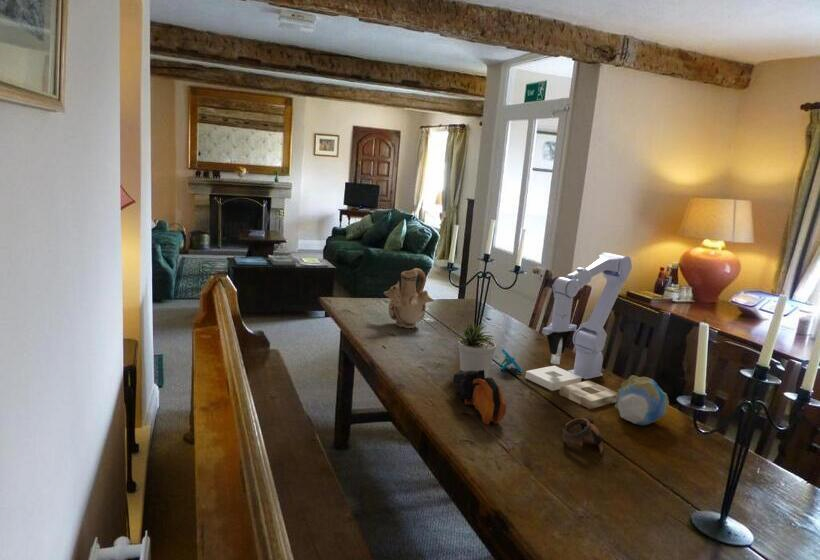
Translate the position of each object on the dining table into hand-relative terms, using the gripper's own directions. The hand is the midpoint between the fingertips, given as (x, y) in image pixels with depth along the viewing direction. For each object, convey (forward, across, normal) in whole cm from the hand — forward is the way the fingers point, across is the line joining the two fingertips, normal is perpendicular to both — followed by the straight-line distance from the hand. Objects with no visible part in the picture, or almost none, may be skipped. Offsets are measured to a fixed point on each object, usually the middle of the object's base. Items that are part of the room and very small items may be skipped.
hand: (556, 353), depth 187 cm
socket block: (+10, 0, 0) cm, 10 cm away
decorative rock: (+10, 0, +32) cm, 34 cm away
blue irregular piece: (+10, +6, -14) cm, 19 cm away
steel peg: (+3, 0, 0) cm, 3 cm away
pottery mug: (+10, +28, +35) cm, 46 cm away
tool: (+10, +39, +6) cm, 41 cm away
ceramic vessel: (+10, +13, -73) cm, 75 cm away
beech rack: (+10, 0, +15) cm, 18 cm away
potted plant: (+10, +23, -15) cm, 29 cm away
